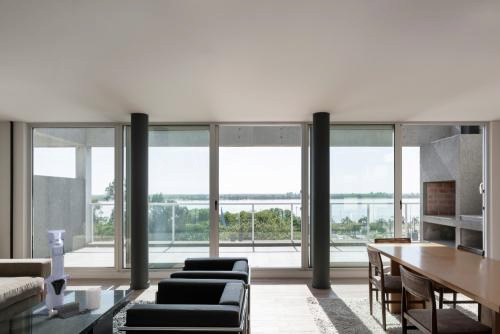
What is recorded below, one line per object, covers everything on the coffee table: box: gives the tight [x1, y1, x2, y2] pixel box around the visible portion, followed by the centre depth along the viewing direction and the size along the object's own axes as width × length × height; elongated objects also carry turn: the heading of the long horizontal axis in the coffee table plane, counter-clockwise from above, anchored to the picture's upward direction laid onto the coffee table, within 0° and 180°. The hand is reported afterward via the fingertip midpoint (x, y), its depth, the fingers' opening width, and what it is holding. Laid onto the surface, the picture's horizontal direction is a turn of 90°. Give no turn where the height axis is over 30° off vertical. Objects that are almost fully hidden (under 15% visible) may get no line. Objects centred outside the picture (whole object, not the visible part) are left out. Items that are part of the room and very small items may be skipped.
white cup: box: [85, 287, 102, 310], centre depth 207 cm, size 8×8×10 cm
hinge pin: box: [47, 310, 57, 318], centre depth 196 cm, size 14×4×4 cm, turn 149°
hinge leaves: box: [45, 301, 87, 319], centre depth 198 cm, size 12×16×4 cm
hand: (57, 294), depth 195 cm, fingers closed
